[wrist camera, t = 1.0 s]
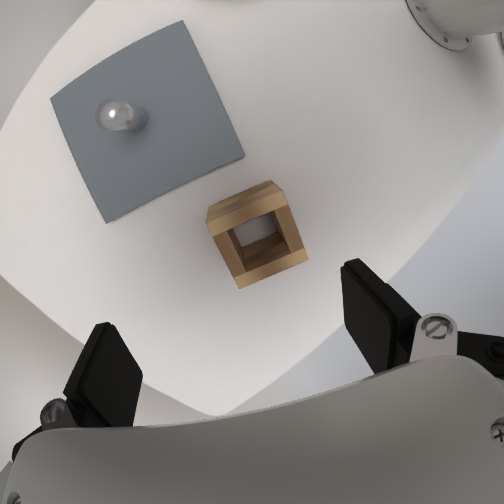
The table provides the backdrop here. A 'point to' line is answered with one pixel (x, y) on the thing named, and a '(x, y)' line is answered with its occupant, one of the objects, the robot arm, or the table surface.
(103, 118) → the metal post
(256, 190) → the oak frame
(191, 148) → the slate board
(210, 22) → the table surface
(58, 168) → the table surface
